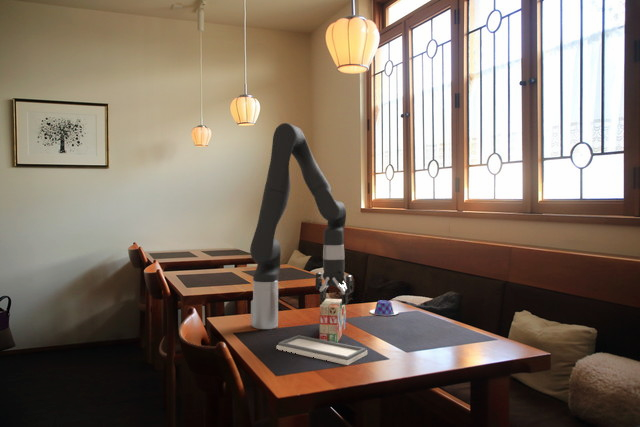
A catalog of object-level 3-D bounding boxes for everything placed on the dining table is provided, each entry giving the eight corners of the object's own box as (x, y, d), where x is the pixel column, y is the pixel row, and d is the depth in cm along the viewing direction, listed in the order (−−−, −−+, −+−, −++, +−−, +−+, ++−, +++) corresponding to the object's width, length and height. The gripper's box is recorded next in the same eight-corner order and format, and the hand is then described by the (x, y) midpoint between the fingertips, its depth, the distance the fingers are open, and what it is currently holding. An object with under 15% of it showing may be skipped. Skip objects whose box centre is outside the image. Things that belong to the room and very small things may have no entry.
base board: (276, 349, 156) (276, 342, 156) (299, 340, 166) (299, 334, 165) (347, 365, 141) (347, 358, 141) (367, 354, 151) (367, 347, 151)
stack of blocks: (329, 326, 185) (329, 293, 185) (346, 326, 184) (346, 294, 184) (319, 342, 164) (319, 305, 164) (337, 343, 163) (337, 306, 163)
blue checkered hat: (363, 313, 207) (363, 300, 207) (382, 309, 216) (382, 297, 215) (385, 318, 199) (386, 305, 198) (404, 314, 207) (404, 301, 207)
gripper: (311, 257, 174) (311, 303, 174) (345, 259, 166) (345, 307, 167) (322, 255, 180) (323, 299, 181) (356, 257, 172) (356, 303, 173)
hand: (334, 303), depth 174 cm, fingers open, 8 cm apart
